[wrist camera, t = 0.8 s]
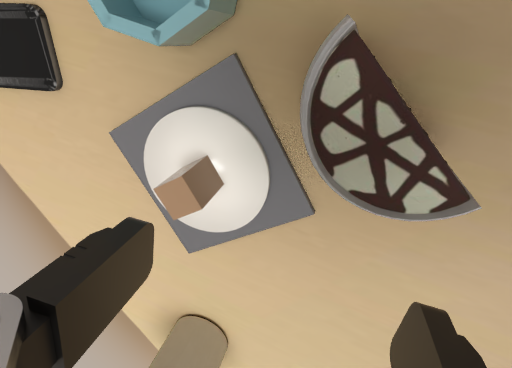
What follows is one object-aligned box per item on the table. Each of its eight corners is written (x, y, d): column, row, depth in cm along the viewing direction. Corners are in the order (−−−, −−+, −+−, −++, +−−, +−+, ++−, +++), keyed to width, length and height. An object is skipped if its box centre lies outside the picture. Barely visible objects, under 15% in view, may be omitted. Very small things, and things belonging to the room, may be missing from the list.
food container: (283, 78, 25) (248, 98, 16) (347, 22, 22) (347, 10, 13) (368, 190, 27) (377, 262, 18) (437, 152, 24) (487, 216, 15)
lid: (227, 79, 26) (196, 89, 20) (293, 205, 29) (281, 241, 24) (126, 140, 31) (81, 159, 26) (191, 240, 34) (163, 275, 29)
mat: (235, 53, 25) (233, 53, 24) (314, 211, 29) (314, 214, 29) (112, 131, 32) (108, 132, 31) (191, 250, 36) (188, 253, 35)
